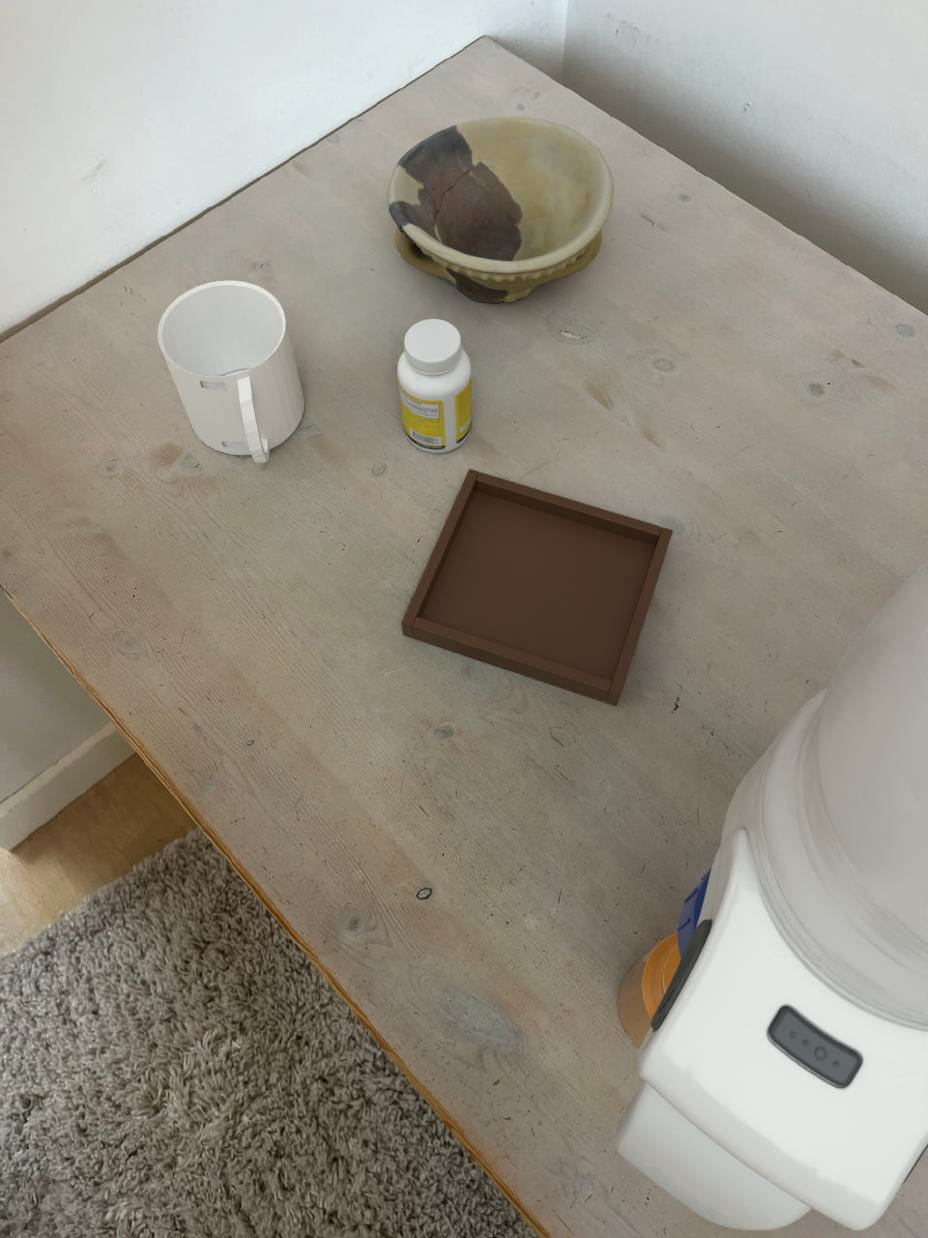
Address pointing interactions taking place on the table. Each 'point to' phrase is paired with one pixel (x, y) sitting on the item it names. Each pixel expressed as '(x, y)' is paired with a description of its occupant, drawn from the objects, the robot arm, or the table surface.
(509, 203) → the bowl
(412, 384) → the supplement bottle
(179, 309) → the mug
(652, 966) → the jam jar
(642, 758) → the table surface
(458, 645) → the walnut tray
